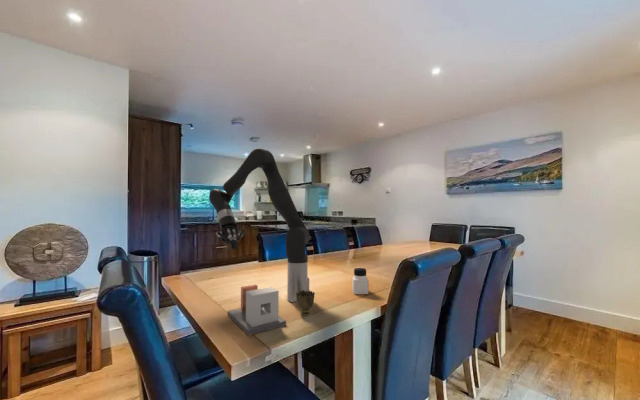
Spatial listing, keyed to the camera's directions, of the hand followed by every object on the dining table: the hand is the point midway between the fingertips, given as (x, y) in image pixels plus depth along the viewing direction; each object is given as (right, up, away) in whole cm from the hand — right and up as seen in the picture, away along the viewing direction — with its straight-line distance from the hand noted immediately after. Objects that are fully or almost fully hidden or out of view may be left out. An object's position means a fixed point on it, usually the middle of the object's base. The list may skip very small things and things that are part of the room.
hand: (234, 248), depth 125 cm
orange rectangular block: (+13, -21, -19) cm, 31 cm away
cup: (+32, -24, -13) cm, 42 cm away
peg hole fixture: (+14, -23, -20) cm, 34 cm away
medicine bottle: (+58, -25, +14) cm, 65 cm away
